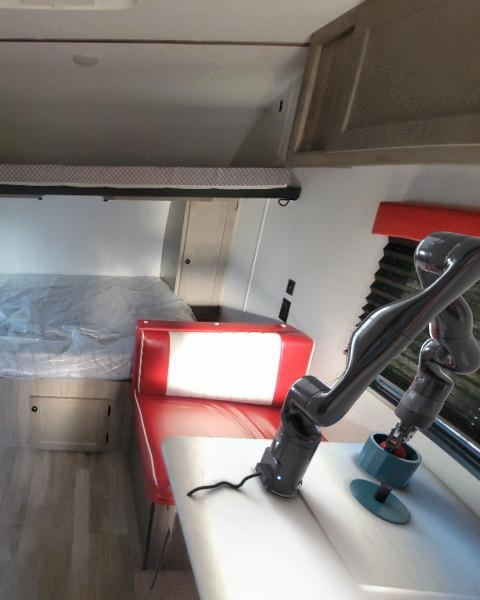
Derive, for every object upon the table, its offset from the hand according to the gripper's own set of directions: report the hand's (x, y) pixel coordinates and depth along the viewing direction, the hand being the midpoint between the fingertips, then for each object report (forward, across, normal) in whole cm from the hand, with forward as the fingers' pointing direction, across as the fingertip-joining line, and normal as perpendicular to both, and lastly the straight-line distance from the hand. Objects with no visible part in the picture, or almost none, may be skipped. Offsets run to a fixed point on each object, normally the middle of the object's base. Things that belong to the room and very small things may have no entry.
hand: (391, 452), depth 98 cm
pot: (+8, 0, 0) cm, 8 cm away
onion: (+4, 0, 0) cm, 4 cm away
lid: (+7, +14, +5) cm, 16 cm away
